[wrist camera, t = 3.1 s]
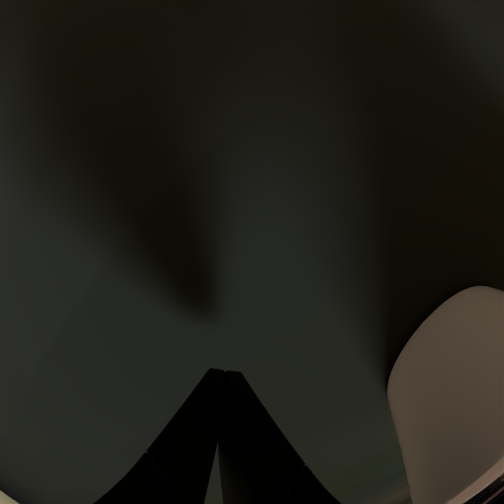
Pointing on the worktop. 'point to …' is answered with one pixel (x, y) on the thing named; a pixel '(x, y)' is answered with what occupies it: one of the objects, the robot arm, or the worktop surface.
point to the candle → (452, 398)
